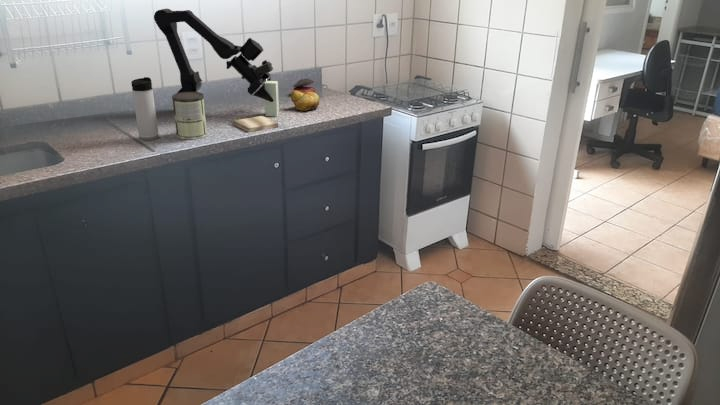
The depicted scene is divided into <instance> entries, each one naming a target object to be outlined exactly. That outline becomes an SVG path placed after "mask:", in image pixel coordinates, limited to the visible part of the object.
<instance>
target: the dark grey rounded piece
mask: <svg viewBox="0 0 720 405" xmlns="http://www.w3.org/2000/svg"><path fill="white" fill-rule="evenodd" d="M314 82H315V81H314V79H311V78H302V79H300V80H298V81H297V82H296V83H294V85H292V86H293V90H292V91H294V90H297V91H300V92H302V93H304V92H306V91H310V92H314V93H316V88H315V87H313V86H310V85H312V84H314Z"/></svg>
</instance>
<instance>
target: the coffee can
mask: <svg viewBox="0 0 720 405" xmlns="http://www.w3.org/2000/svg"><path fill="white" fill-rule="evenodd" d="M204 96H205V95H204V93H203V92H202V93H201V92H199V91H198V92H181V93H177V92H176V93H174V94H172V95H171V99H172V106H173V115H174V122H175V131H176V132H175V133H176V137H177V138H178V139H182V140H197V139H202V138H205V137H206V136H208V133H207V132H208V130H207V124H206V123H207V122H206V111H205V100H204Z"/></svg>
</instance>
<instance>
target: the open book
mask: <svg viewBox="0 0 720 405" xmlns="http://www.w3.org/2000/svg"><path fill="white" fill-rule="evenodd" d="M233 125H234V126H236V127H238V128H240V129H241V130H244V131H246V132H248V133H252V132H257V131H263V130H268V129H269V130H270V129H275V128H279V122H277V121H275V120H272V119H270V118H268V117H267V116H264V115H258V116H253V117H248V118H247V117H246V118H242V119H241V118H239V119H234V120H233Z"/></svg>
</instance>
